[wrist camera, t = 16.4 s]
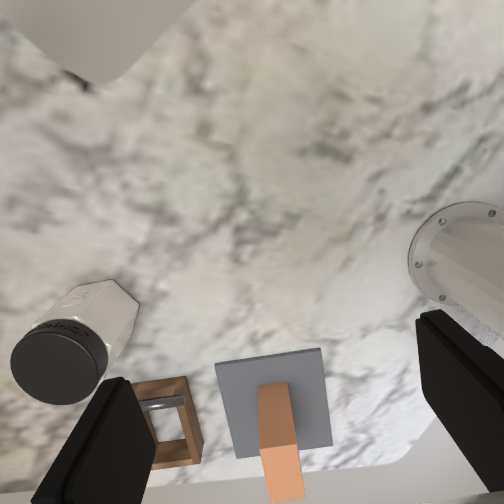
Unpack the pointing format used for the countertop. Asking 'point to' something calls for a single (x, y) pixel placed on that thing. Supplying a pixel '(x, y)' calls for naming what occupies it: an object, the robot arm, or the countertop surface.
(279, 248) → the countertop surface
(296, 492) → the orange block
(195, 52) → the countertop surface
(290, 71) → the countertop surface
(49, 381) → the jar
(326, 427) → the mat
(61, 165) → the countertop surface
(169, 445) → the dispenser
